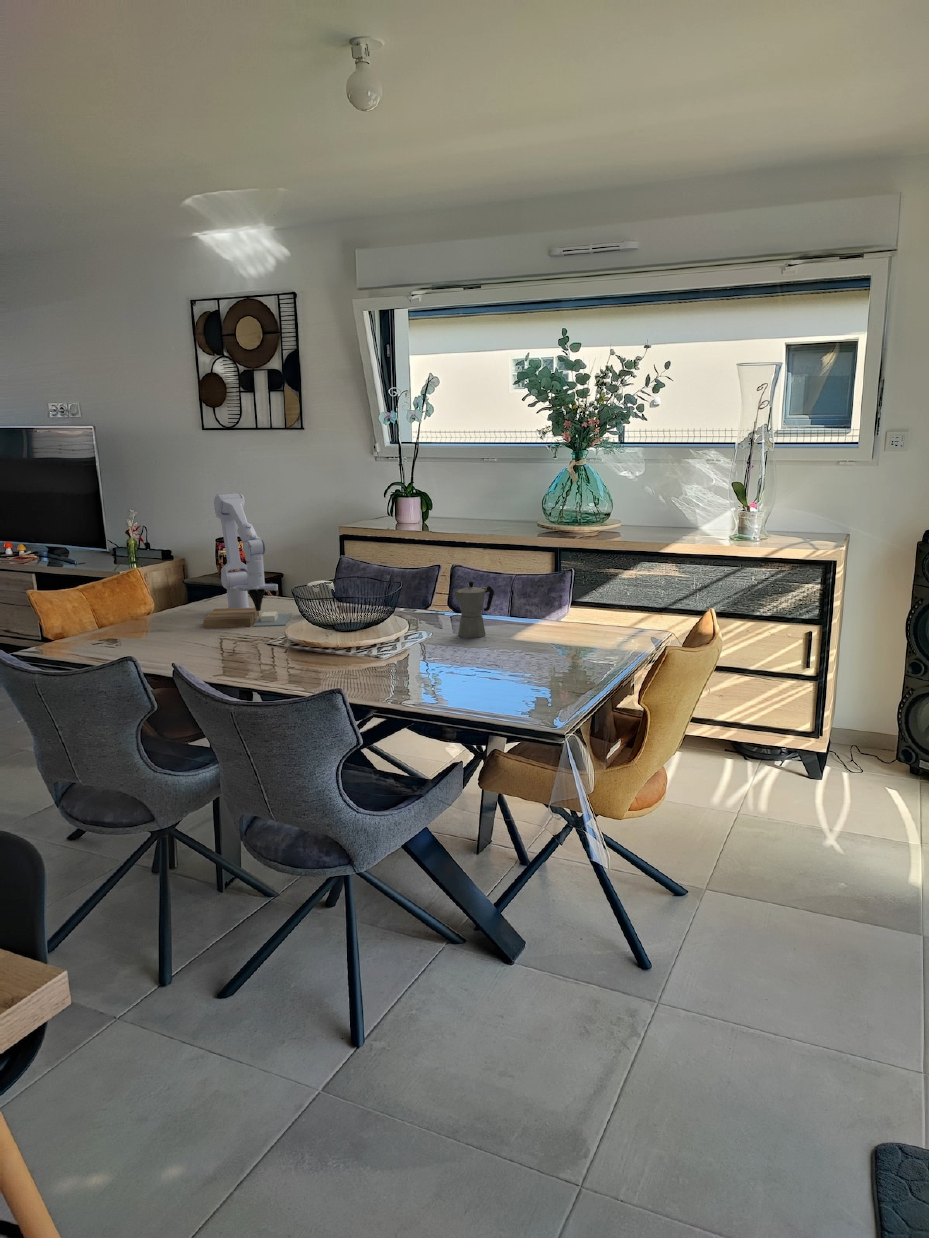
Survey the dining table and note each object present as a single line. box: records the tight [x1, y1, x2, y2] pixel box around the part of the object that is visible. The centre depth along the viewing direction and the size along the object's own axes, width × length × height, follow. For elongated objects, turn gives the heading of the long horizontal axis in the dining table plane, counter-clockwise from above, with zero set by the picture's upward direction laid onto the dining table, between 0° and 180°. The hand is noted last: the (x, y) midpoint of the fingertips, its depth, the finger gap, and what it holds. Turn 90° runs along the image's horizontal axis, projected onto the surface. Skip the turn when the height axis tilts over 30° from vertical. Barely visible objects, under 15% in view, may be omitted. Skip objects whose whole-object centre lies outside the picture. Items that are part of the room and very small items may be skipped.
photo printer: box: [306, 580, 335, 592], centre depth 323 cm, size 10×4×12 cm, turn 109°
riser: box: [203, 606, 260, 629], centre depth 314 cm, size 18×16×3 cm
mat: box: [253, 612, 293, 627], centre depth 315 cm, size 18×11×1 cm, turn 4°
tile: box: [259, 611, 279, 622], centre depth 315 cm, size 7×5×2 cm
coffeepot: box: [453, 580, 495, 639], centre depth 288 cm, size 15×9×18 cm, turn 121°
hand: (258, 610), depth 314 cm, fingers closed
